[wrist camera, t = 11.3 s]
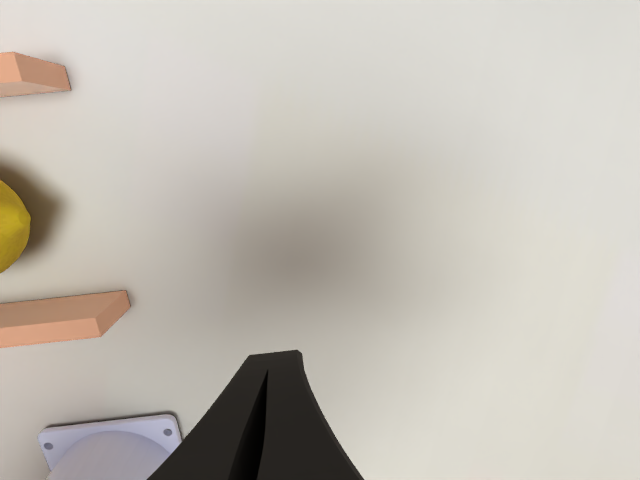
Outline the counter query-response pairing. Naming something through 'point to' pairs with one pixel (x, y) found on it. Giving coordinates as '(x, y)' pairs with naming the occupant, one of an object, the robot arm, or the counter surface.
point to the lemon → (12, 226)
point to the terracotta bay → (64, 312)
